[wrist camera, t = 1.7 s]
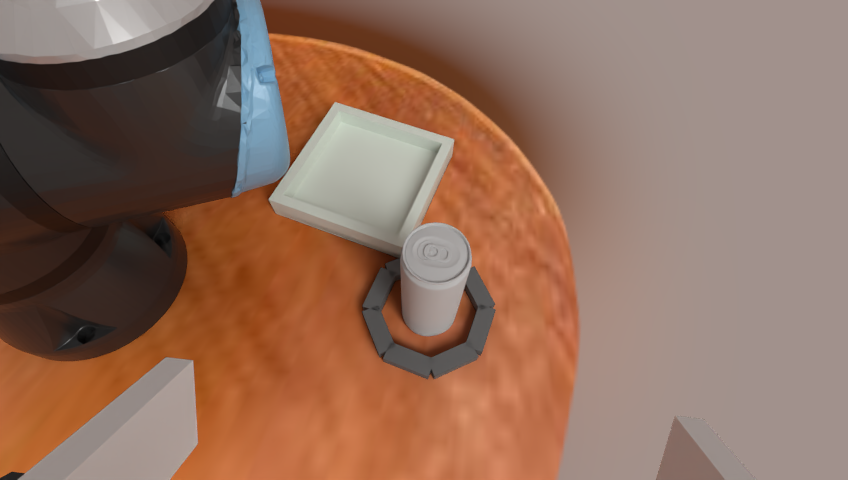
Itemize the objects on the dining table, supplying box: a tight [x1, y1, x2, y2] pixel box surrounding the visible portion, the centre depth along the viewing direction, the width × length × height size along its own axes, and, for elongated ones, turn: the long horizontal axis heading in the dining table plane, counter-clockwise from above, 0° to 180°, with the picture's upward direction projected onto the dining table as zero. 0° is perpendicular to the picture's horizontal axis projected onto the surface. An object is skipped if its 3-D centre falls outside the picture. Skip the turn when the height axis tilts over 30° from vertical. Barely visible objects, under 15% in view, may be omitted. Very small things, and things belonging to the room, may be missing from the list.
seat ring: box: [362, 258, 495, 379], centre depth 38 cm, size 11×11×1 cm
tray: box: [268, 102, 454, 258], centre depth 44 cm, size 14×14×2 cm
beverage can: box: [400, 222, 472, 336], centre depth 33 cm, size 5×5×12 cm
